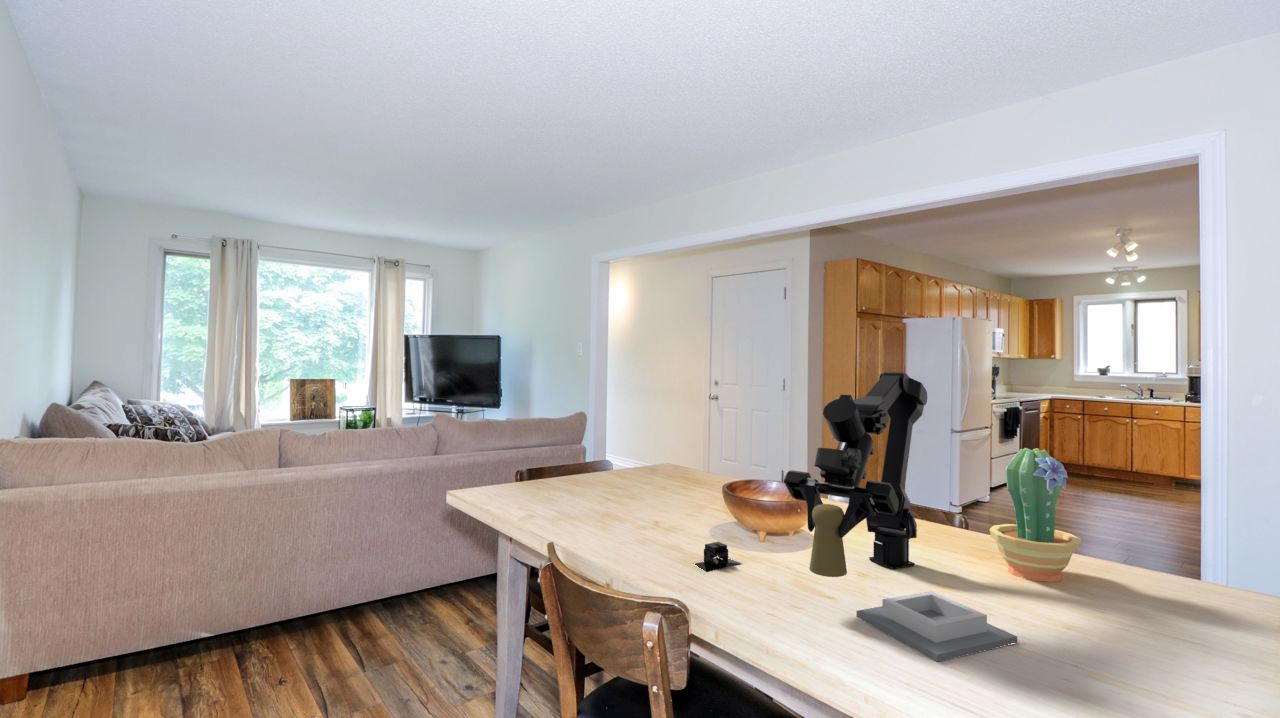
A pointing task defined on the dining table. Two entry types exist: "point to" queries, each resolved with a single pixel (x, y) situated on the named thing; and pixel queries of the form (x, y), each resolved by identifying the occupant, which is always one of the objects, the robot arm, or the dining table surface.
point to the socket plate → (935, 625)
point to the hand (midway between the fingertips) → (824, 533)
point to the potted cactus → (1035, 518)
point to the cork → (827, 542)
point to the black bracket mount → (718, 562)
